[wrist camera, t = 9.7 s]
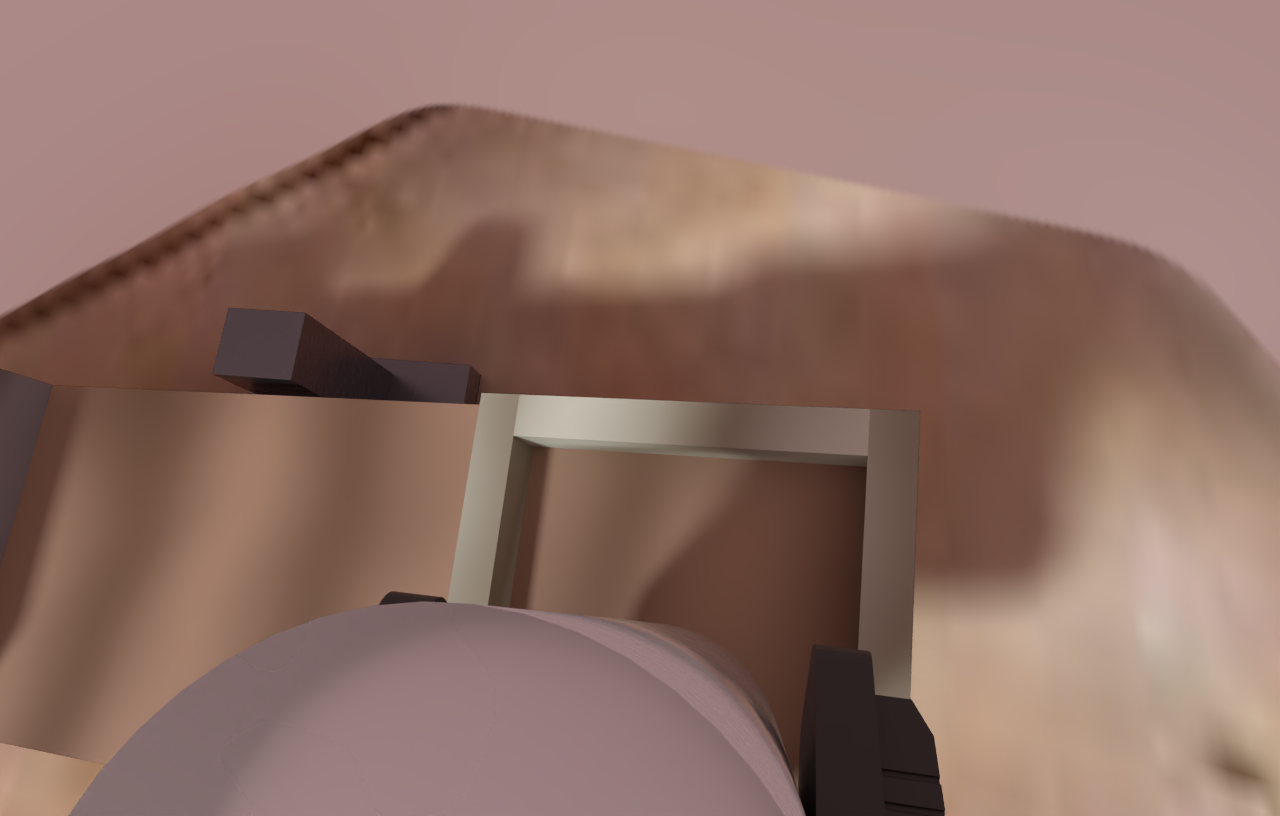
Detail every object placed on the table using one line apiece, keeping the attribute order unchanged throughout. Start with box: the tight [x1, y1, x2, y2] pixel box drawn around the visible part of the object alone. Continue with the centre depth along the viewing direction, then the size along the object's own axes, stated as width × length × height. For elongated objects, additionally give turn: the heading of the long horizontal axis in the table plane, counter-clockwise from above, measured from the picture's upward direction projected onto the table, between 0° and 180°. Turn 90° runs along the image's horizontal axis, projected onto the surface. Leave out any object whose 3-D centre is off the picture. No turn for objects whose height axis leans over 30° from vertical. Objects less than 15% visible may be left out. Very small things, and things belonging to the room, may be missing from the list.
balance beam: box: [0, 369, 920, 790], centre depth 20 cm, size 30×10×5 cm, turn 84°
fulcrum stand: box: [213, 308, 481, 405], centre depth 26 cm, size 8×16×7 cm, turn 174°
